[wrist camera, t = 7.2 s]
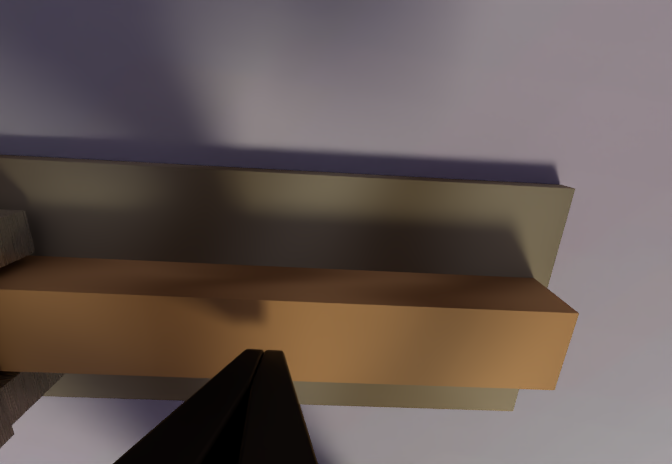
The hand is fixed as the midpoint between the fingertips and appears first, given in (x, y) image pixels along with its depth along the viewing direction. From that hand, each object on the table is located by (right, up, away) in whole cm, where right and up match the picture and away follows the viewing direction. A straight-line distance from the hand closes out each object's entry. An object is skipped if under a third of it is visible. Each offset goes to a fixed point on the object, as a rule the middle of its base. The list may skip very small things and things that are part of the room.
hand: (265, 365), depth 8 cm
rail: (-3, +1, +3) cm, 5 cm away
